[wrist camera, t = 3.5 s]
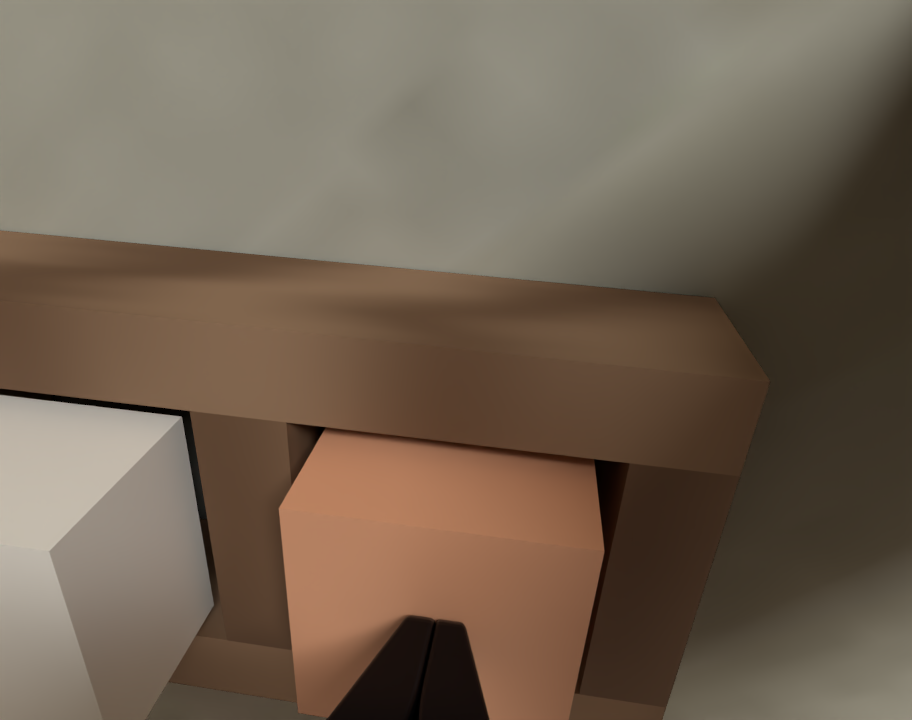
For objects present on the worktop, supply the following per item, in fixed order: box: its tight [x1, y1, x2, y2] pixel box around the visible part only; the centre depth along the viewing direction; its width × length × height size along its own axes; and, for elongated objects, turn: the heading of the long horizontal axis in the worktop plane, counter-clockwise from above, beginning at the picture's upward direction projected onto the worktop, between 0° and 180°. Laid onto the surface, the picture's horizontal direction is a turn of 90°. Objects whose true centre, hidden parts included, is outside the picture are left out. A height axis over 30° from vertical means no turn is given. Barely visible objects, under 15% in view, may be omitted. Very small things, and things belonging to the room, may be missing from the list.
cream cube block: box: [0, 395, 214, 720], centre depth 10 cm, size 4×4×3 cm
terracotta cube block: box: [279, 427, 605, 720], centre depth 10 cm, size 4×4×3 cm
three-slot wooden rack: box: [0, 231, 770, 720], centre depth 12 cm, size 21×8×3 cm, turn 87°
